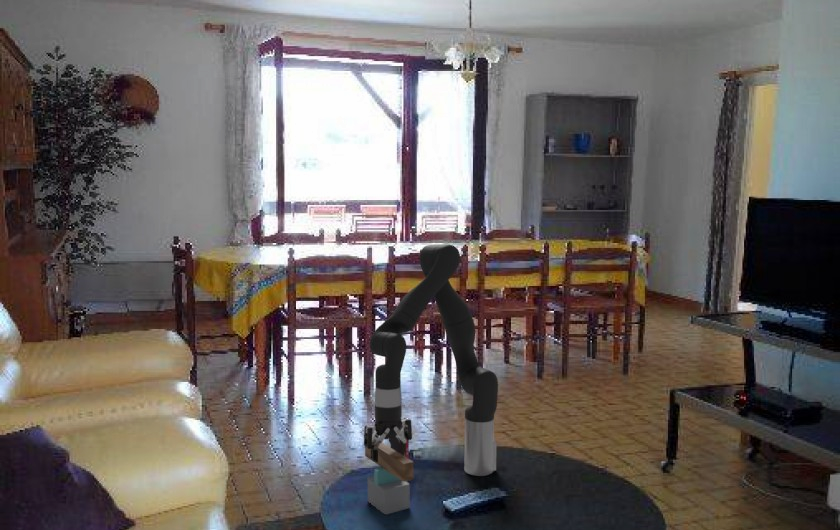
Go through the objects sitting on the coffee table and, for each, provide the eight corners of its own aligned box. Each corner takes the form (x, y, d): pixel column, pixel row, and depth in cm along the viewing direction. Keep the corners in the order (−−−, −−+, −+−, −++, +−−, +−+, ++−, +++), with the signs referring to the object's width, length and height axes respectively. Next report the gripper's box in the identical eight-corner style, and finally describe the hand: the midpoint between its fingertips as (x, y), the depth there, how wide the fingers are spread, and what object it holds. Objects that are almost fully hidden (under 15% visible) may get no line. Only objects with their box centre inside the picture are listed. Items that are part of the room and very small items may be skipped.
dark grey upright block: (402, 477, 223) (402, 430, 222) (388, 476, 224) (388, 429, 223) (409, 464, 234) (409, 419, 233) (396, 462, 235) (396, 418, 233)
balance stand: (391, 495, 211) (391, 458, 209) (409, 507, 202) (409, 470, 201) (367, 501, 206) (367, 464, 205) (384, 514, 198) (384, 476, 197)
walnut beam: (374, 454, 213) (374, 437, 212) (413, 479, 195) (413, 461, 194) (365, 456, 211) (365, 439, 211) (403, 481, 193) (403, 463, 192)
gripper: (403, 395, 208) (403, 449, 210) (359, 403, 200) (359, 459, 202) (416, 401, 202) (416, 457, 203) (372, 410, 194) (372, 468, 196)
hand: (388, 458), depth 203 cm, fingers open, 8 cm apart
